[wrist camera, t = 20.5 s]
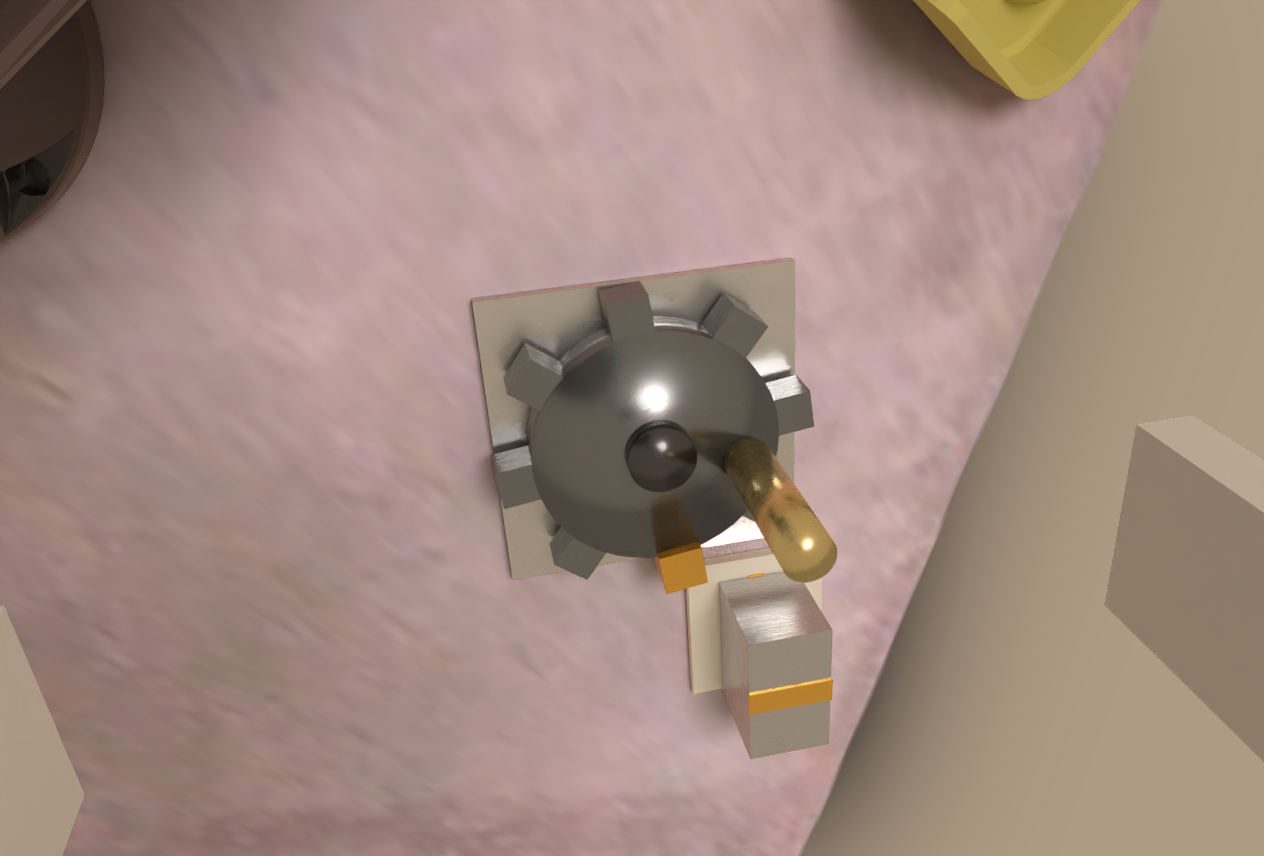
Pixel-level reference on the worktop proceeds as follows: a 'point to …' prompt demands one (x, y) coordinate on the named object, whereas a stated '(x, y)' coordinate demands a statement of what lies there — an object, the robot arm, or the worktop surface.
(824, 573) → the sprocket
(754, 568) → the marked pad
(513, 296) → the sprocket base
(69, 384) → the worktop surface
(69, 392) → the worktop surface
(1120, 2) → the plastic component
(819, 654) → the link block
